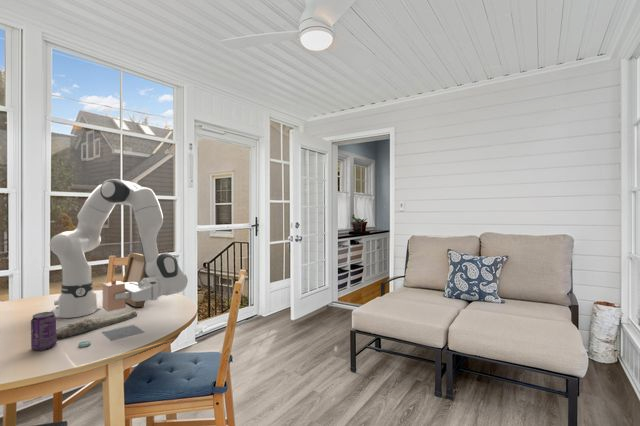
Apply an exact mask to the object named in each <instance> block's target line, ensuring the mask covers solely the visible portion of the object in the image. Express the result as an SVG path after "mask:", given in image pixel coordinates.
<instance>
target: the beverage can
mask: <svg viewBox="0 0 640 426" xmlns="http://www.w3.org/2000/svg"><path fill="white" fill-rule="evenodd" d="M54 314H55V313H54V312H53V311H43V312H37V313H35V314H33V315H32V318H31V321H30V348H31V349H32V350H35V351H44V350H43V349H45V350H48V349H50V347H51V348H52V347H54V346H56V345H57V339H56V329H57V318H56V316H55V315H54ZM47 348H48V349H47Z"/></svg>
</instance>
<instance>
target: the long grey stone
mask: <svg viewBox="0 0 640 426" xmlns="http://www.w3.org/2000/svg"><path fill="white" fill-rule="evenodd" d="M137 316H138V312H137V310H125V311H120V312H116V313H113V314H108V315H104V316H101V317H97V318H85V319H83V320H79V321H75V322H72V323H69V324H67V325H65V326H62V327H61V326H60V327H59V328H56V340H60V339H65V338H69V337H72V336H76V335H79V334H84V333H86V332H90V331H94V330H97V329H98V330H99V329H100V328H103V327H106V326H110V325H113V324H116V323H120V322H121V323H122V322H124V321H126V320H130V319H133V318H135V317H137Z"/></svg>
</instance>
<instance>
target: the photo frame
mask: <svg viewBox="0 0 640 426" xmlns="http://www.w3.org/2000/svg"><path fill="white" fill-rule="evenodd" d="M144 264H145V262H144V256H143V253H142V254H141V253H136V252H130V253H129V257H128V261H127V264H126V268H125V272H124V276H123V280H122V282H123V283H125V282H137V283H139V282H141V280H142V279H143V278H145V276H144V273H143V270H144ZM125 303H127V304H129V305H131V306H133V307H134V308H144V307H145V303H146V300H145V301H132V300H131V299H129V298H125Z"/></svg>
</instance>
